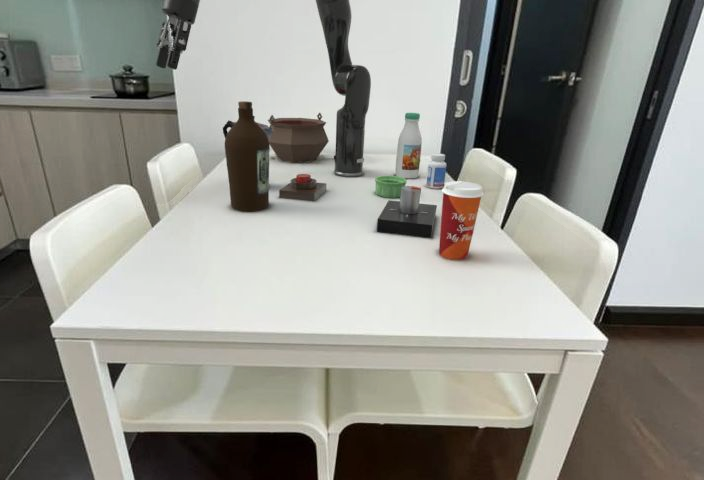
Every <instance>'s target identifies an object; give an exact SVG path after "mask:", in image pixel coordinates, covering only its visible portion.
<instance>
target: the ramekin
mask: <svg viewBox="0 0 704 480" xmlns="http://www.w3.org/2000/svg"><path fill="white" fill-rule="evenodd" d="M374 182H375V194H376V196H379V197H381V198H388V199H389V198H390V199H395V198H396V199H397V198H401V188H402V187H403V186H406V184H407V183H408V180H407V178H402V177H397V176H396V175H379V176H376V177H375V178H374Z"/></svg>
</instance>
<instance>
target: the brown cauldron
mask: <svg viewBox="0 0 704 480" xmlns="http://www.w3.org/2000/svg"><path fill="white" fill-rule="evenodd" d="M316 117H317V118H309V117H277V118H275V117H274V115H273V114H271V115H270V117H269V119H267V122H268V123H269V124H270V125H269V127H270V128H272V129H273V130H274V132H272V134H271V136H270V138H269V146H270V148H271V149H272V151H273V152H274V154H275V155H276V157H277V158H278V159H279V161H281V162H286V163H294V164H295V163H296V164H297V163H298V164H299V163H310V162H313V161H316V160H317V159H318V158H319V156H320V154H321V153H322V152H323V151H324V149H325V147H326V146H327V145H328V143H330V140H329V138H328V135H327V133H326V130H325V126H326V124H327V122H326V121H324V120H322V118H323V115H322V113H321V112H318V114H317V115H316Z"/></svg>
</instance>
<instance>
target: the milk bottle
mask: <svg viewBox="0 0 704 480" xmlns="http://www.w3.org/2000/svg"><path fill="white" fill-rule="evenodd" d="M420 116H421V114H420V113H419V112H405V114H404V121H405V122H404V125H403V127H402V130H401V131H400V134H399V136H398V140H397V147H396V148H397V149H396V159H395V171H394V172H395V173H394V176H397V177H402V178H405V179H417V178H418V177H419V172H420V166H421V165H420V164H421V156H422V143H423V141H422V134H421V131H420V130H421V129H420V127H419V126H420V125H419V122H420V118H421V117H420Z"/></svg>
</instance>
